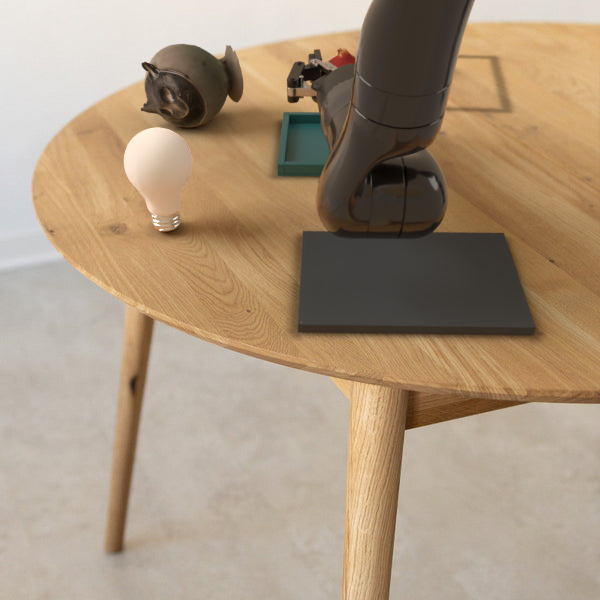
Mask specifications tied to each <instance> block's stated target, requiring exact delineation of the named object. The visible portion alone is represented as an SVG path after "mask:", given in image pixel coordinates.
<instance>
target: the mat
mask: <svg viewBox="0 0 600 600" xmlns="http://www.w3.org/2000/svg"><path fill="white" fill-rule="evenodd" d="M298 296H299V297H298V310H297V311H298V312H297V313H298V314H297V333H306V334H307V333H308V334H309V333H310V334H311V333H312V334H313V333H314V334H315V333H317V334H319V333H320V334H321V333H323V334H387V335H388V334H390V335H391V334H392V335H394V334H395V335H396V334H397V335H398V334H399V335H459V336H460V335H463V336H464V335H468V336H472V335H473V336H475V335H476V336H535V332H536V325H535V321H534V319H533V316H532V313H531V310H530V306H529V304H528V301H527V298H526V294H525V292H524V288H523V285H522V283H521V279H520V276H519V274H518V270H517V267H516V265H515V262H514V258H513V255H512V253H511V250H510V247H509V244H508V241H507V238H506V234H505V232H457V231H456V232H455V231H454V232H453V231H447V232H446V231H433V232H432V233H431V234H429V235H427V236H425V237H423V238H419V239H346V238H340V237H337V236H335V235H333V234H332V233H330V232H329V231H328V230H303V231H302V241H301V261H300V275H299V295H298ZM301 322H302V323H301Z"/></svg>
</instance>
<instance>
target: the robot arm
mask: <svg viewBox="0 0 600 600" xmlns="http://www.w3.org/2000/svg"><path fill="white" fill-rule="evenodd" d="M475 1H476V0H372V1H371V3H370V5H369V7H368V8H367V11H366V13H365V16H364V18H363V22H362V24H361V27H360V32H359V36H358V41H357V46H356V52H355V63H353V64H347V65H343V66H341V67H339V68H337V67H336V66H335V65H333V64H332V63H330V62H328V61H323V57H322V52H321V49H319V48H318V49H313V53H309V54H308V55H307V57H308V58H307V59H308V60H307V62H308V63H307V64H306V62H304V61H301V60H298V61H294V62H293V65H292V67H291V69H290V71H289V73H288V76H287V77H286V97H287V99H286V100H287V101H286V102H287V103H289V104H297V103H299V102H300V99H304V98H306V97H308V98H311V100H312V101H313V103H316V104H317V109H318V112H319V114H320V119H321V123H320V125H321V129H322V133H323V134H324V137H325V140H326V142H327V144H328V147H329V153H330V155H329V157H328V159H327V161H326V163H325V165H324V168H323V170H322V173H321V176H319V179H318V182H317V186H316V194H315V205H316V206H315V207H316V212H317V215H318V219H319V221H320V222H321V224H322V226H323V227H324V228H325V229H326V231H329V232H330V233H332V234H333V235H335V236H337V237H340V238H346V239H419V238H423V237H425V236H427V235H429V234H431V233H432V232H435V231H436V230H437V229H438V228H439V227H440V226H441V223H442V222H443V220H444V219H445V216H446V213H447V211H448V205H449V189H448V184H447V179H446V176H445V174H444V171H443V169H442V167H441V165H440V163H439V162H438V160H437V159H436V156H434V155H433V153H432V152H431V151H430V150H428V148H429V147H431V145H433V143H434V142H435V141H436V140H437V138H438V137H439V135H440V131H441V129H442V127H443V123H444V118H445V113H446V110H447V107H448V101H449V98H450V93H451V90H452V85H453V82H454V81H453V80H454V77H455V72H456V68H457V64H458V63H457V62H458V58H459V54H460V50H461V46H462V43H463V40H464V34H465V31H466V28H467V26H468V23H469V18H470V16H471V13H472V10H473V7H474V4H475ZM308 82H309V83H310V84H308Z"/></svg>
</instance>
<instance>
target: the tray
mask: <svg viewBox="0 0 600 600" xmlns="http://www.w3.org/2000/svg"><path fill="white" fill-rule="evenodd" d="M320 123H321V119H320V114H319V111H318V112H317V111H283V113H282V120H281V130H280V137H279V145H278V153H277V161H276V162H277V163H276V170H277V171H276V174H277V177H320V176H321V173H322V170H323V168H324V165H325V163H326V161H327V159H328V157H329V155H330V153H329V147H328V144H327V142H326V140H325V137H324V134H323V133H322V129H321V125H320Z"/></svg>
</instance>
